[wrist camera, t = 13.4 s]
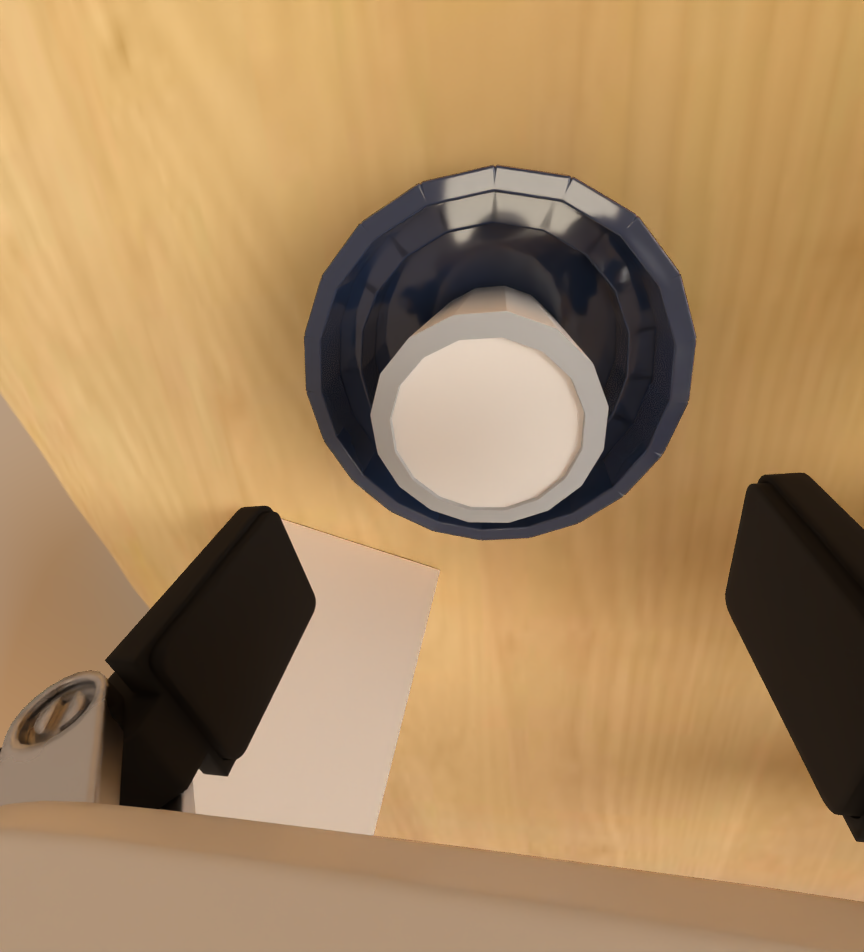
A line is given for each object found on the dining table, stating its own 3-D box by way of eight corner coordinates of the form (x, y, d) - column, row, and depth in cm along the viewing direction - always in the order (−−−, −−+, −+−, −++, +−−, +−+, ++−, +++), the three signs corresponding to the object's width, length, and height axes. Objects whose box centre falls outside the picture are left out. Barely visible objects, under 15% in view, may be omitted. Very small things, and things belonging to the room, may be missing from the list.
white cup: (587, 412, 19) (620, 509, 14) (438, 442, 21) (411, 539, 16) (564, 243, 16) (595, 276, 10) (389, 296, 18) (332, 349, 12)
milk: (238, 623, 33) (-289, 1479, 11) (246, 507, 26) (-982, 2013, 5) (395, 672, 33) (180, 1581, 12) (440, 570, 27) (146, 2197, 5)
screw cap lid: (665, 130, 14) (725, 110, 10) (642, 466, 21) (673, 531, 17) (306, 214, 17) (245, 222, 13) (385, 486, 24) (360, 546, 20)
